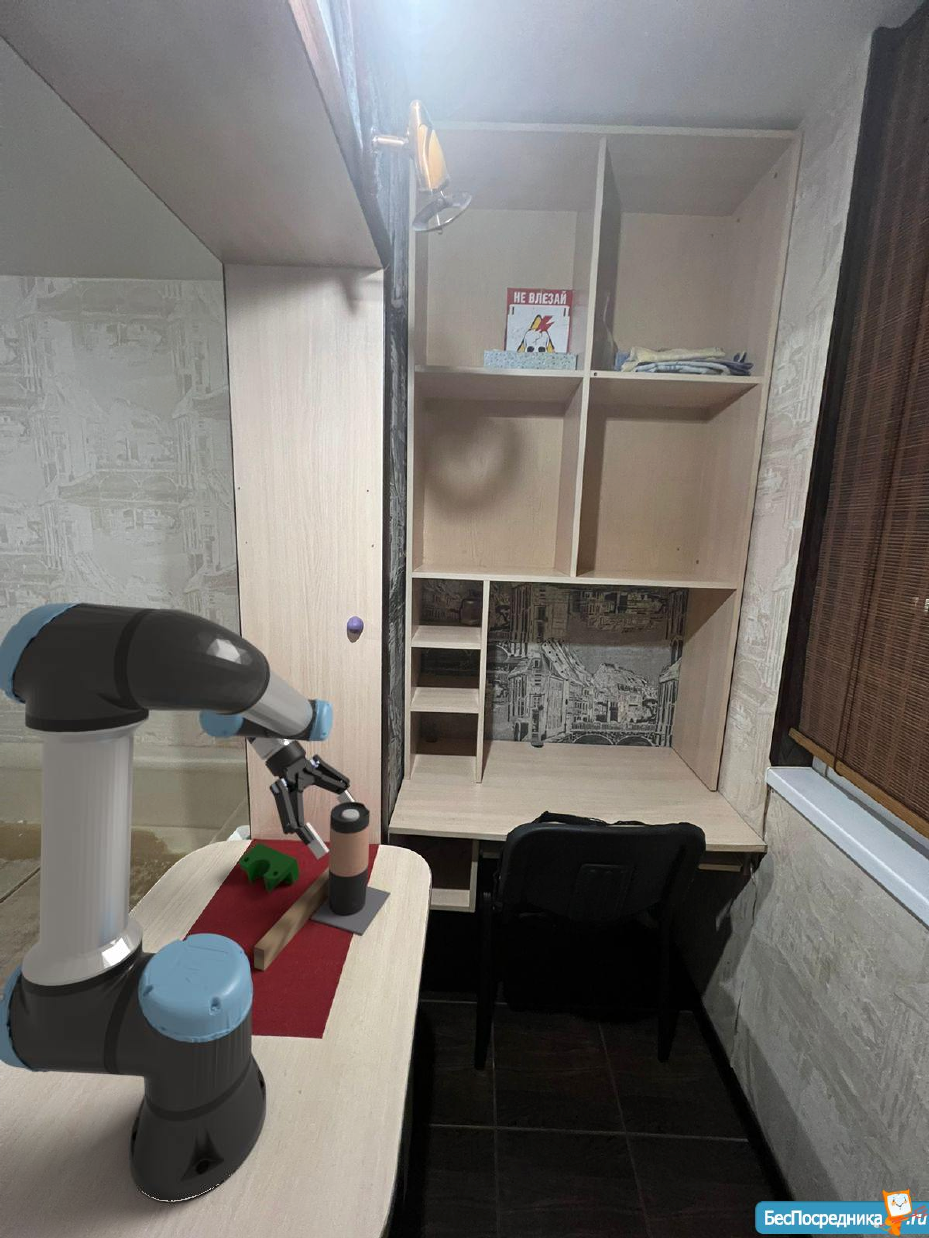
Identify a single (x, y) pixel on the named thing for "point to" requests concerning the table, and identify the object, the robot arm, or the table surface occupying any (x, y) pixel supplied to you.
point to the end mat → (356, 921)
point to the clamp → (269, 866)
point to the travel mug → (348, 857)
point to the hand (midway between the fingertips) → (342, 835)
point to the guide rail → (291, 922)
